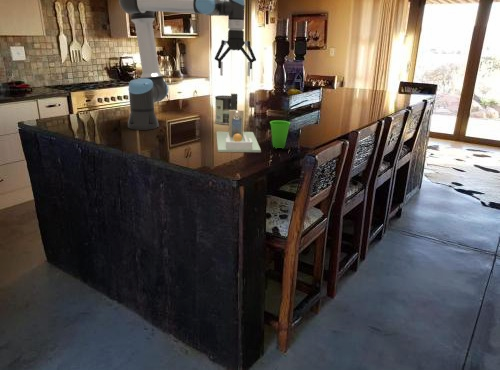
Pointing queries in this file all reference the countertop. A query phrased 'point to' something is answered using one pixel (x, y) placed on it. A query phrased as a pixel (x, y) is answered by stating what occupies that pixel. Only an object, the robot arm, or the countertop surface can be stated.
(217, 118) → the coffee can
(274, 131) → the cup
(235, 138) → the ball
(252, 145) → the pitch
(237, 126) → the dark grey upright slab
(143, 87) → the robot arm
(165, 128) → the countertop surface
